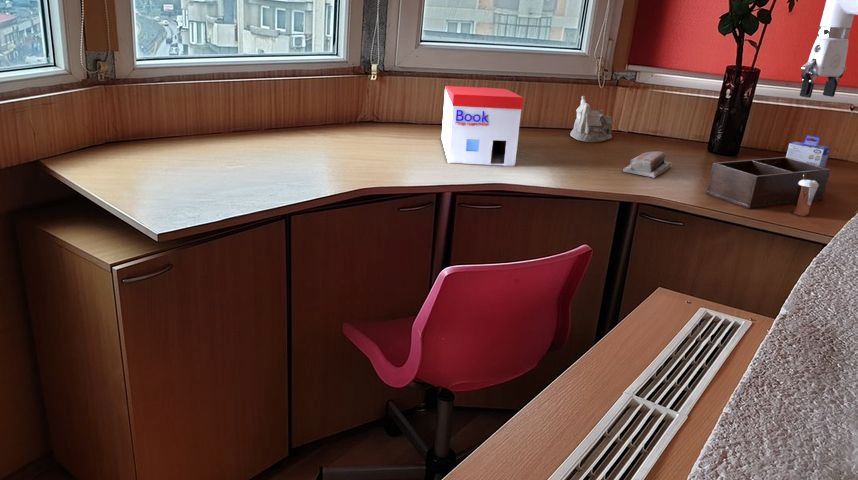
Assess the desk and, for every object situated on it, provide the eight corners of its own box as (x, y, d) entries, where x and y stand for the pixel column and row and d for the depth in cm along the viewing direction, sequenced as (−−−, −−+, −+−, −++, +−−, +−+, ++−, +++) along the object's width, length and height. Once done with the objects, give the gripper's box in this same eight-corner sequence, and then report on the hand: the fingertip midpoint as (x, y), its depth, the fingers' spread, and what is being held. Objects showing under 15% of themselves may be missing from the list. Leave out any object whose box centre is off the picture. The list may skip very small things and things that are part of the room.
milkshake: (803, 210, 189) (813, 174, 185) (813, 217, 184) (824, 179, 180) (785, 210, 189) (795, 173, 185) (795, 216, 184) (805, 178, 180)
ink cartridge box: (820, 187, 212) (833, 139, 207) (813, 190, 209) (827, 141, 203) (785, 180, 219) (797, 132, 213) (778, 182, 215) (790, 134, 210)
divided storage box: (822, 200, 199) (831, 169, 196) (749, 209, 188) (757, 176, 185) (777, 186, 212) (784, 156, 208) (706, 193, 201) (712, 162, 197)
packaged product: (658, 162, 212) (624, 157, 217) (655, 178, 213) (622, 172, 219) (674, 152, 225) (642, 147, 231) (671, 167, 227) (639, 162, 232)
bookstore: (448, 163, 220) (453, 94, 212) (441, 138, 252) (445, 78, 244) (515, 166, 220) (523, 97, 212) (500, 141, 253) (506, 80, 245)
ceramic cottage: (575, 140, 258) (583, 98, 253) (566, 133, 273) (574, 93, 268) (618, 145, 258) (627, 103, 253) (607, 137, 273) (615, 97, 268)
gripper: (824, 35, 193) (807, 99, 199) (866, 35, 199) (849, 97, 206) (799, 32, 199) (784, 95, 205) (841, 33, 206) (825, 93, 212)
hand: (816, 96), depth 206 cm, fingers open, 9 cm apart
